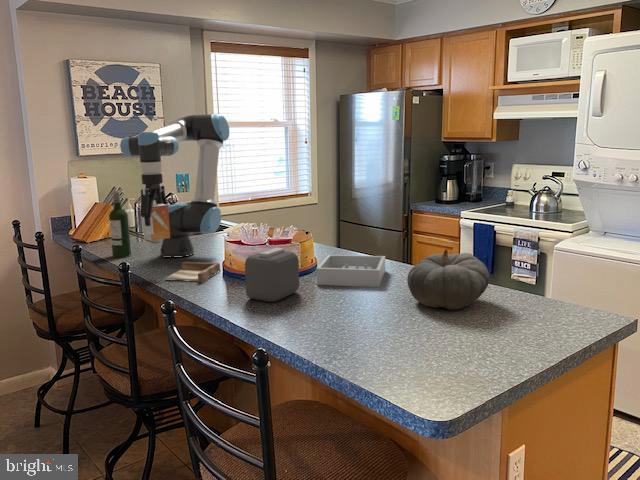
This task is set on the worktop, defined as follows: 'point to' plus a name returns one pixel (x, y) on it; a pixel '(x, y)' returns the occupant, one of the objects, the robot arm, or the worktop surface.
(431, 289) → the gourd
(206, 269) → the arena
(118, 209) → the wine bottle
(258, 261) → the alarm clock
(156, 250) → the worktop surface
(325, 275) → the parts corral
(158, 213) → the small box
